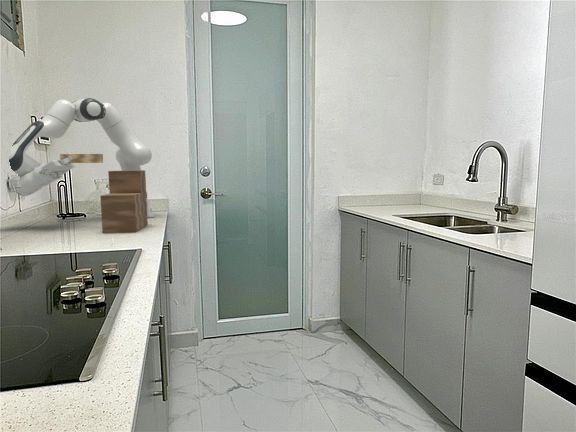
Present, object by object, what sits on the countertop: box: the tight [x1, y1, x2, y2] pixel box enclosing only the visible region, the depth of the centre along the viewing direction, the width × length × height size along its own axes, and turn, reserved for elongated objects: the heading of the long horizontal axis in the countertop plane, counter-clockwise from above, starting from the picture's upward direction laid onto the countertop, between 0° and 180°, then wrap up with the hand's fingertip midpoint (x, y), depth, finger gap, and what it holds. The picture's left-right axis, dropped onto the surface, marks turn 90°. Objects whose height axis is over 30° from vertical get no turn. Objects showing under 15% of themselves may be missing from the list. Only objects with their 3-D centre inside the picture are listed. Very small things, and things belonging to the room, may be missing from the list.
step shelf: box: [99, 169, 149, 234], centre depth 212 cm, size 23×14×26 cm, turn 4°
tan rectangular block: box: [58, 153, 104, 164], centre depth 215 cm, size 18×3×4 cm, turn 94°
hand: (74, 157), depth 215 cm, fingers closed on tan rectangular block, 3 cm apart
